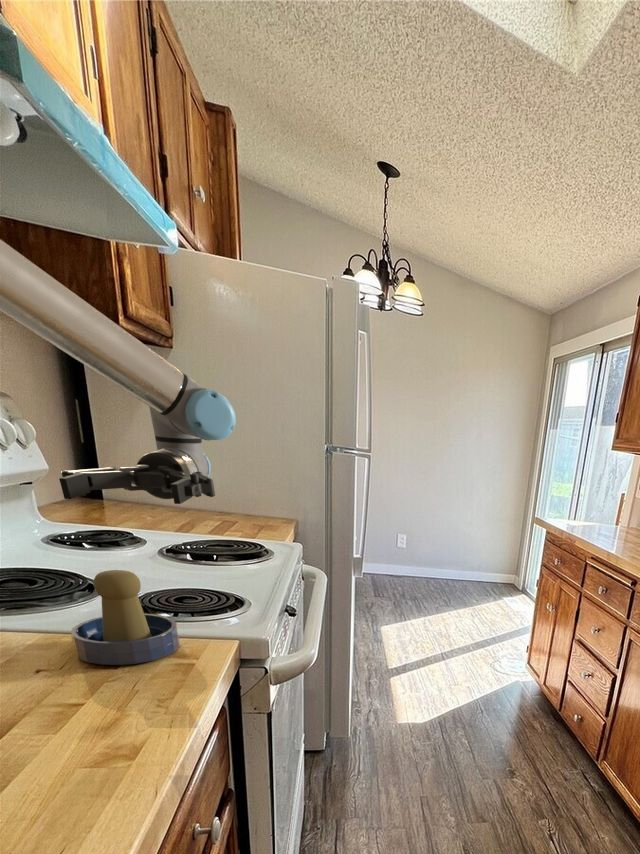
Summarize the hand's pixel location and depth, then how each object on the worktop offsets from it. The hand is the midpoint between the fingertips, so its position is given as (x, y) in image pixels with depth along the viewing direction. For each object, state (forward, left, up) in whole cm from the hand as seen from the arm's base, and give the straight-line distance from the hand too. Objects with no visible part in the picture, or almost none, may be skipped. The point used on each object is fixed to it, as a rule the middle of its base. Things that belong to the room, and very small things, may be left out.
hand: (121, 491), depth 78 cm
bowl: (+1, -8, -21) cm, 22 cm away
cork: (+1, -8, -20) cm, 22 cm away
